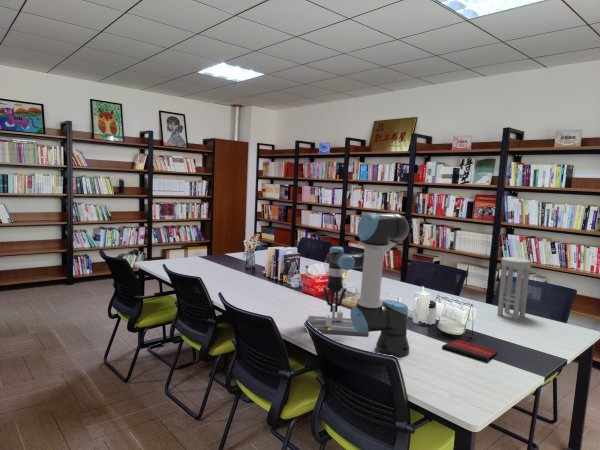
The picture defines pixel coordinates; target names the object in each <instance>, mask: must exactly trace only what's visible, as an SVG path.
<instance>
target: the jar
mask: <svg viewBox="0 0 600 450" xmlns="http://www.w3.org/2000/svg"><path fill="white" fill-rule="evenodd" d="M429 300H430V304H429V305H430V306H429V314H428V315H427V324H429V325H428V326H431V325H432V324H433V325H434V324H436V322H437V319H436V318H437V308H436V307H437V302H436V301H435V300H431V299H429ZM427 324H426V325H427ZM433 325H432V326H433Z"/></svg>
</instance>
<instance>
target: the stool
mask: <svg viewBox="0 0 600 450" xmlns="http://www.w3.org/2000/svg"><path fill="white" fill-rule="evenodd" d="M500 265H501V272H500V275H501V276H500V284H499V294H498V295H499V296H498V303H497V305H498V306H497V316H504V313H506V314H509V313H510V310H511V306H513V313H512V320H515V321H518V320H519V317H521V318H524V317H526V307H527V298H528V287H529V279H530V278H529V277H530V269H531V268H532V261H531V260H530V259H527V258H522V257H514V256H506V257H505V256H504V257H501V264H500ZM514 269H517V271H516V281H515V283H516V284H515V293H512V291H513V290H512V288H513V280H514V279H513V278H514Z"/></svg>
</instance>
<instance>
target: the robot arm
mask: <svg viewBox="0 0 600 450" xmlns="http://www.w3.org/2000/svg"><path fill="white" fill-rule="evenodd" d="M356 232H357V236H358V238H359V240H361V244H362V245H363V246H364V250H363V251H364V252H363V253H344V252H345V251H344V247H342V246H332V247H330V248H329V252H328V255H329V257H328V258H329V259H328V277H327V279H328V280H327V284H326V286H323V288H322V290H323V292H324V295H325V300H326V303H327V306H329V307H330V311H329V312H330V313H331V316H332V319H335V318H336V313H337V310H338V307H341V306H342V304H343V303H342V302H343V300H344V296H345V293H346V292H347V288H346V287H344V286H343V285H344V284H343V270H344V271H350V270H352V269H362V271H361V272H362V273H361V276H362V277H361V283H360V284H361V286H360V297H359V298H358V299H356V303H355V305H354V306H352V307H351V309H350V313H349V314H350V319H351V321H352V324H353V326H354V328H355V329H356V330H357V331H358V332H369V333H370V332H371V333H372V332H380V334H379V336H378V339H377V341H376V346H375V347H376V348H375V350H376V351H377V352H378V353H380V354H382V355H384V354H387V355H393V356H396V357H395V358H397V357H399V358H400V357H405V356H408V355H409V354H410V344H409V341H408V338H407V331H408V317H409V307H408V306H407V304H405V303H404V302H401V301H397V300H395V299H393V300H392V299H383V301H381V300H380V298H381V288H382V277H383V268H384V267H383V266H384V256H385V254H386V253H387V252H388V251H389V250H390V249H392V248H393V247H394V246H396V244H401V243H402V242H403V241H404V240H405V239H406V238H407V236H408V235H409V233H410V225H409V222H408V220H407V219H406V218H405V217H404V216H403V215H402V214H399V213H395V212H394V213H392V212H391V213H387V212H386V213H385V212H372V213H371V212H370V213H369V212H368V213H364V214H363V215H362V216H361V217H360V219H359V221H358V224H357V229H356ZM328 290H329V292H330V298H329V293H328ZM339 292H341V295H340V298H339ZM334 293H335V301H334ZM334 302H335V303H334ZM334 304H335V305H334ZM387 355H386V356H387ZM393 356H392V357H393Z"/></svg>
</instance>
